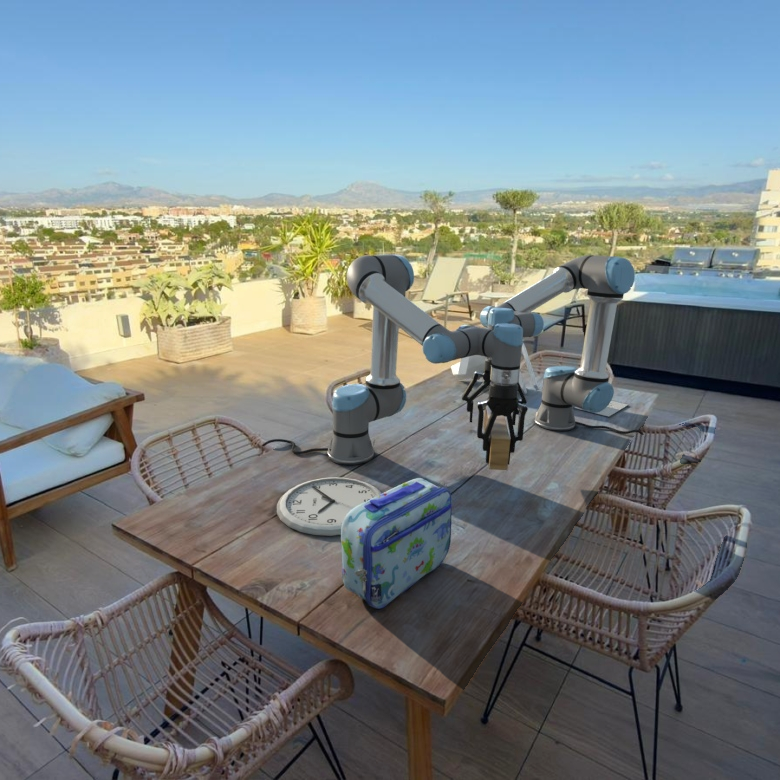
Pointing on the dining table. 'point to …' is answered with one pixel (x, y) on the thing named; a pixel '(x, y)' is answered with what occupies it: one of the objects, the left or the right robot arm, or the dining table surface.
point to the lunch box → (395, 540)
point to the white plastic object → (477, 363)
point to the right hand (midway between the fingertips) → (491, 422)
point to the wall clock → (323, 504)
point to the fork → (441, 485)
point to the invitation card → (610, 408)
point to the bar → (498, 442)
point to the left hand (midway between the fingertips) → (497, 461)
